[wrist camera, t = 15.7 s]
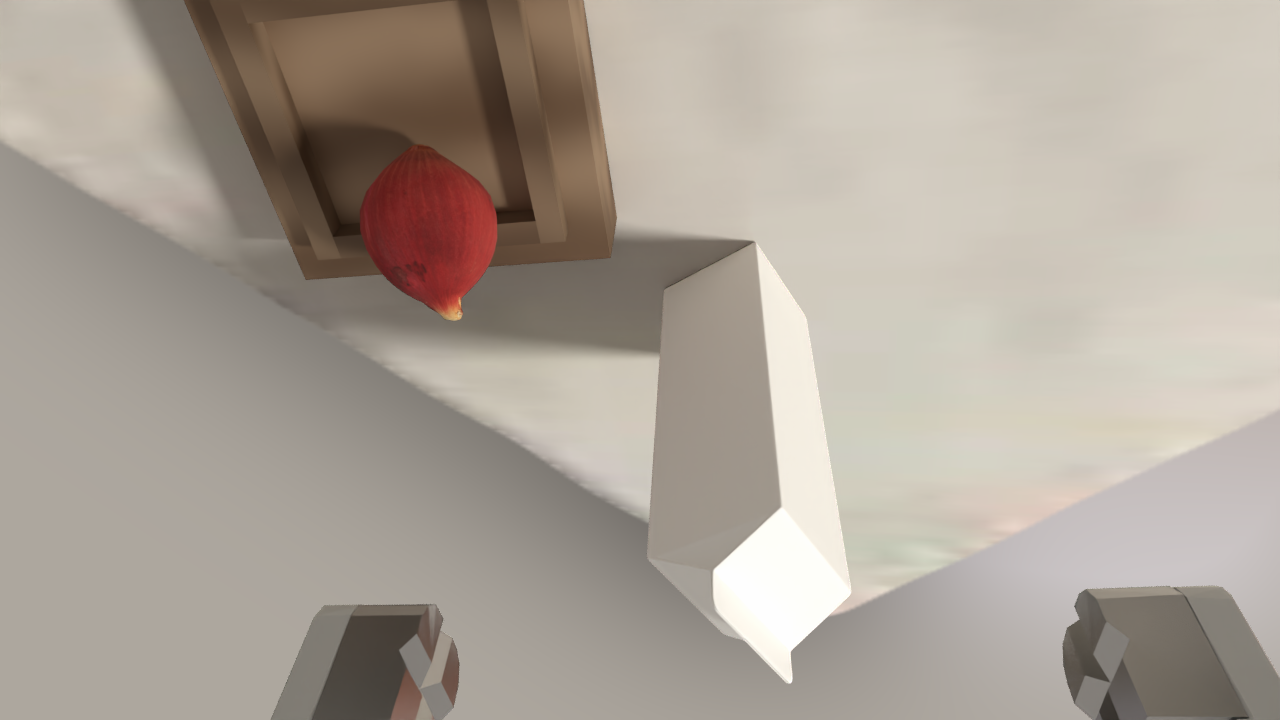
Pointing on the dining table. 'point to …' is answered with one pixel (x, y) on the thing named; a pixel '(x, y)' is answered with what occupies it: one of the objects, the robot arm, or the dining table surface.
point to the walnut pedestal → (417, 115)
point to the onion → (429, 228)
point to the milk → (744, 460)
